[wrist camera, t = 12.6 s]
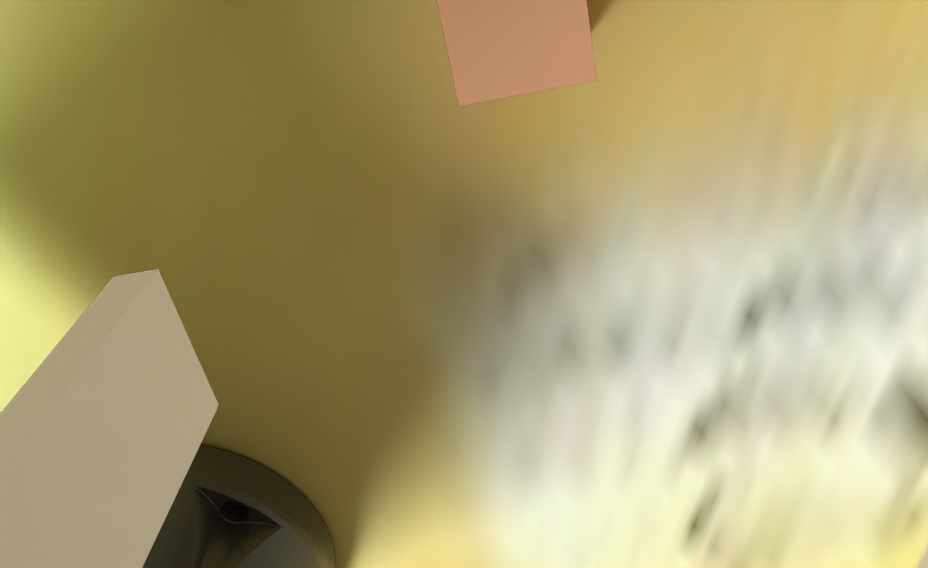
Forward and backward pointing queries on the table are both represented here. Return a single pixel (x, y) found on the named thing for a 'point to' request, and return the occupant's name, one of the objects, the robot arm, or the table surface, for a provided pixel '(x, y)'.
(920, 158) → the table surface
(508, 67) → the tan block
